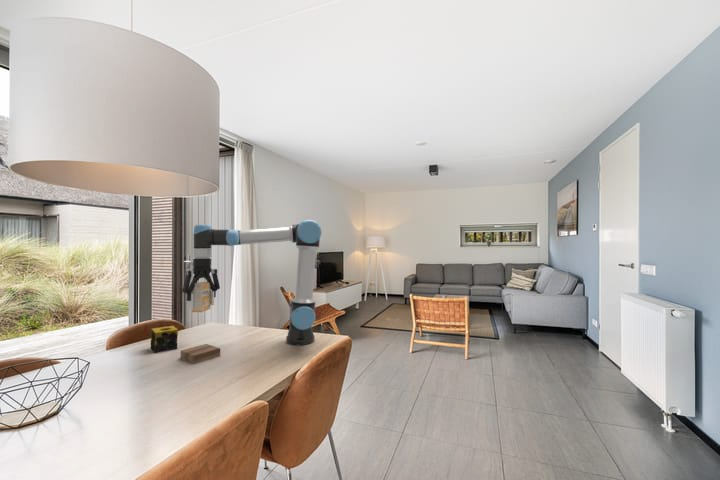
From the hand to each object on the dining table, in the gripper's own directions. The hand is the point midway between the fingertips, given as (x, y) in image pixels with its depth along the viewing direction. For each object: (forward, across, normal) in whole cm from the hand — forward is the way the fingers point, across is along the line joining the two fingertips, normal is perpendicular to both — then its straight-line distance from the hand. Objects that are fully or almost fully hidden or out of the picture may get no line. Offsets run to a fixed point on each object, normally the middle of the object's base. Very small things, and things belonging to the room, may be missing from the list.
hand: (201, 306), depth 144 cm
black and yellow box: (+24, +4, -27) cm, 36 cm away
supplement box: (+2, 0, 0) cm, 2 cm away
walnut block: (+24, 0, 0) cm, 24 cm away
